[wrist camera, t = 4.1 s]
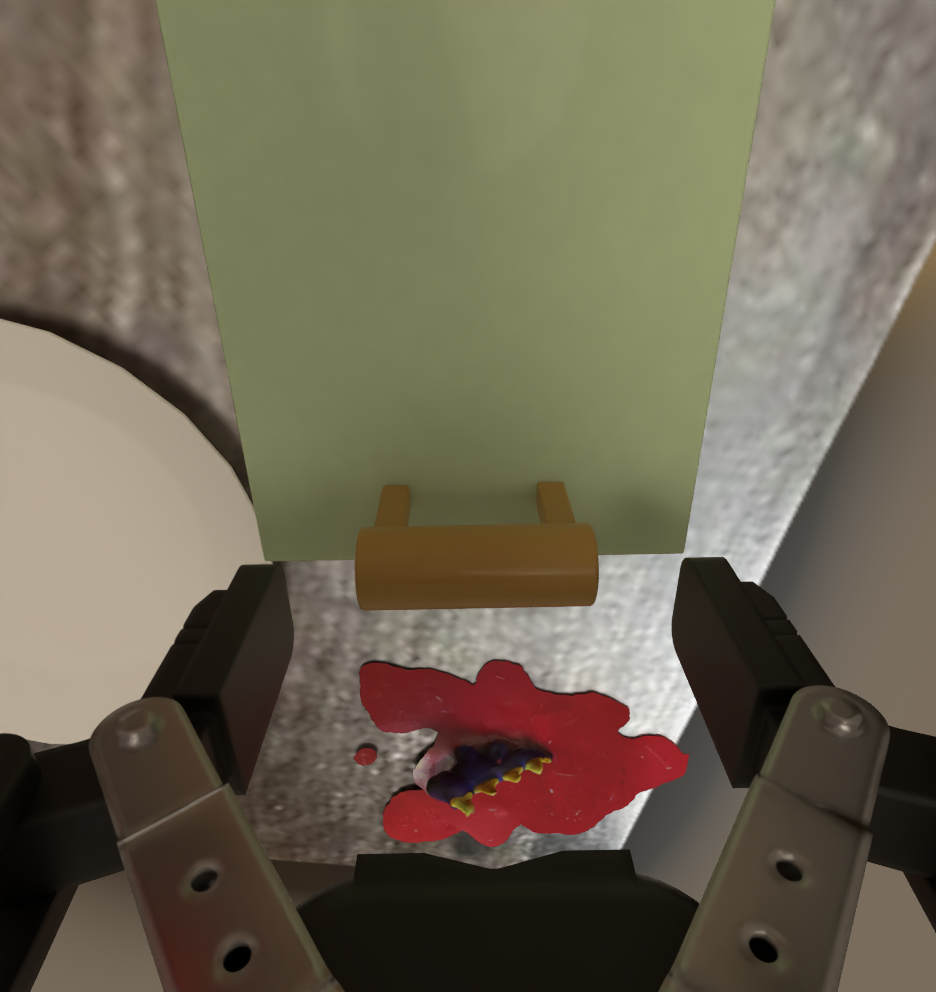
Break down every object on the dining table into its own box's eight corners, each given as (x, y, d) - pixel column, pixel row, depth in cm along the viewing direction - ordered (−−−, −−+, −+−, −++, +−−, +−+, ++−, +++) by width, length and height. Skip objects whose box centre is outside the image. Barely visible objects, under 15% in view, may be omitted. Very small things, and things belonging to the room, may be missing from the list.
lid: (675, 538, 19) (741, 660, 15) (270, 546, 19) (213, 670, 14) (782, -137, 12) (969, -298, 8) (145, -127, 12) (-37, -281, 8)
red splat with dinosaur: (683, 619, 35) (726, 676, 31) (654, 814, 41) (688, 883, 37) (343, 654, 33) (341, 720, 29) (364, 855, 39) (365, 934, 35)
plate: (67, 763, 36) (44, 800, 34) (-328, 471, 27) (-390, 497, 25) (379, 597, 31) (374, 628, 29) (14, 173, 22) (-29, 176, 20)
